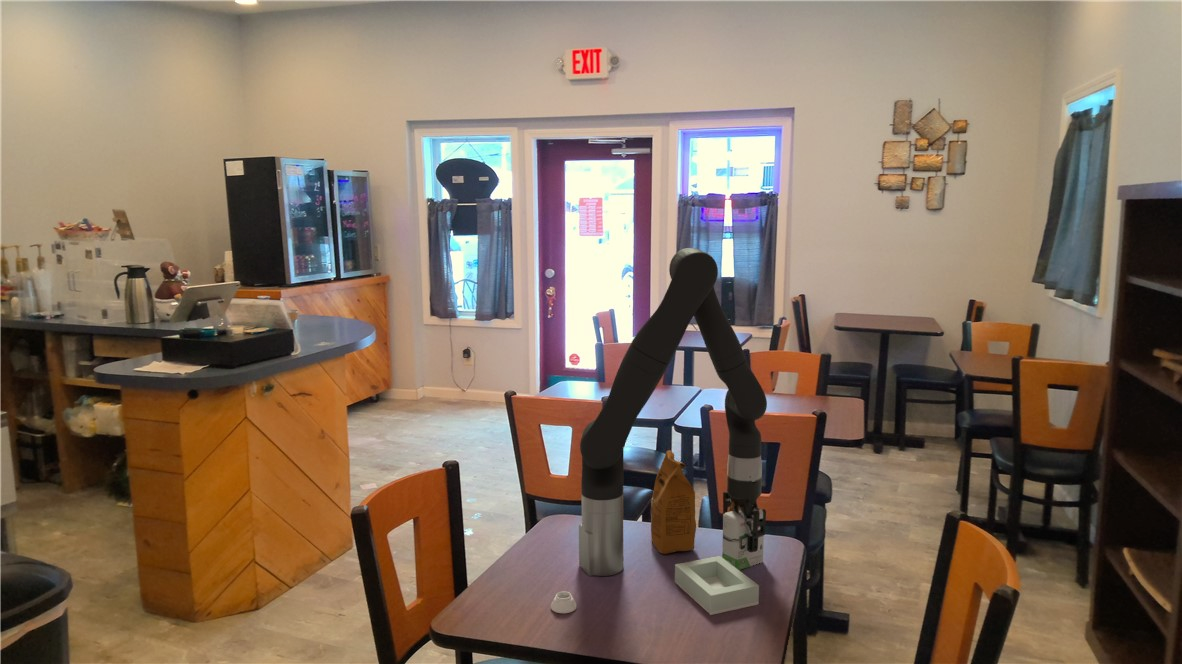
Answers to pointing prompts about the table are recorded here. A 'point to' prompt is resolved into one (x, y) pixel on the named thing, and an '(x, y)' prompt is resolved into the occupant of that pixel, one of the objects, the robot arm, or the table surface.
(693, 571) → the pale green rectangular frame
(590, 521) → the robot arm
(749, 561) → the ink box
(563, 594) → the lidless jar
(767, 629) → the table surface
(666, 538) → the coffee package
